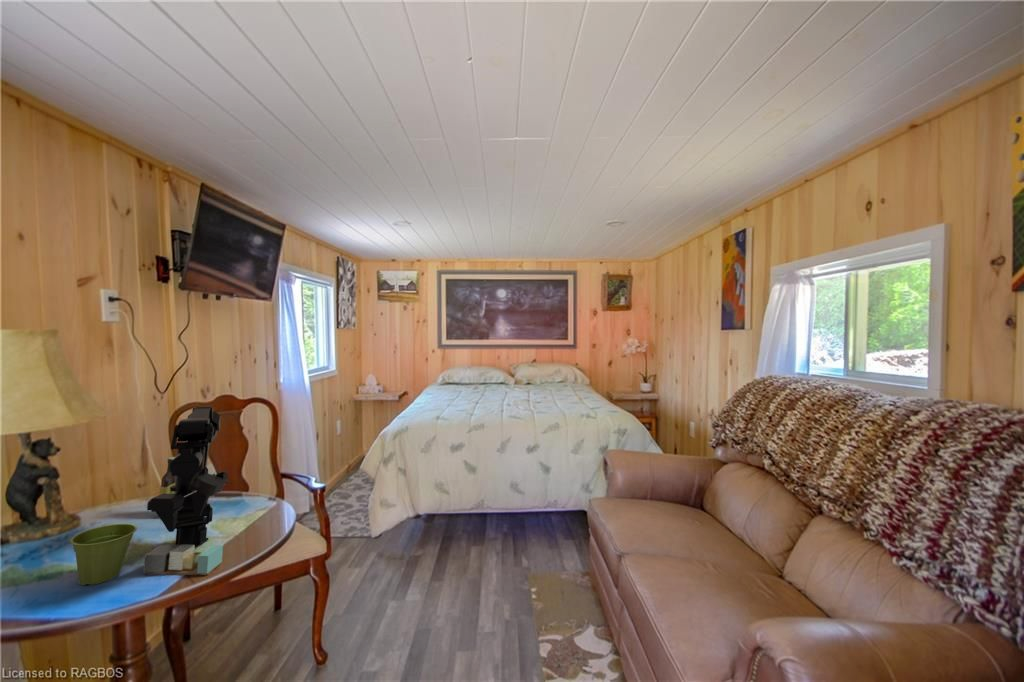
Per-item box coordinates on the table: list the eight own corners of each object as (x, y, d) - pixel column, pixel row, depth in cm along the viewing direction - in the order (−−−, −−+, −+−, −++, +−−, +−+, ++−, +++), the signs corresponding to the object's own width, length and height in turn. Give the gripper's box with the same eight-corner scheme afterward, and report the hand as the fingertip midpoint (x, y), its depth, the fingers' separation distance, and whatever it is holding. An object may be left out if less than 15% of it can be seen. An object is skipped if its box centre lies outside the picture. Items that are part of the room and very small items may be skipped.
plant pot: (89, 595, 90) (94, 547, 90) (51, 587, 92) (56, 540, 92) (145, 568, 101) (149, 526, 102) (110, 561, 103) (114, 520, 104)
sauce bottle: (169, 519, 129) (174, 461, 130) (151, 518, 130) (157, 460, 130) (186, 511, 136) (191, 456, 137) (169, 510, 136) (174, 455, 137)
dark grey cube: (143, 572, 99) (145, 554, 99) (161, 560, 104) (162, 544, 104) (163, 572, 99) (165, 555, 99) (180, 561, 104) (181, 544, 105)
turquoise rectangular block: (197, 573, 99) (198, 555, 100) (212, 561, 105) (213, 545, 105) (206, 573, 100) (208, 555, 100) (221, 561, 105) (223, 545, 105)
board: (144, 574, 99) (144, 571, 99) (160, 563, 104) (160, 561, 104) (207, 575, 100) (207, 572, 100) (220, 564, 105) (221, 562, 105)
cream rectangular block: (147, 569, 100) (148, 551, 100) (159, 561, 103) (161, 544, 103) (190, 570, 100) (192, 552, 100) (201, 562, 104) (203, 545, 104)
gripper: (195, 478, 94) (189, 541, 94) (242, 457, 113) (238, 510, 112) (148, 476, 93) (142, 540, 93) (203, 456, 112) (199, 509, 111)
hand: (185, 523), depth 102 cm, fingers open, 9 cm apart
